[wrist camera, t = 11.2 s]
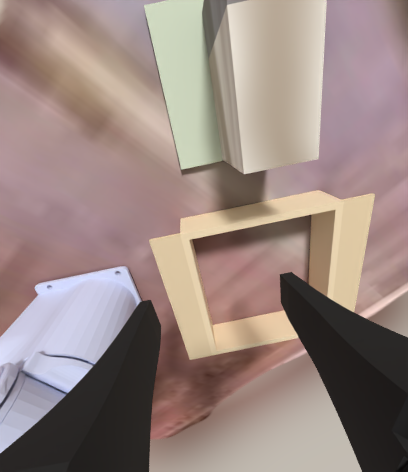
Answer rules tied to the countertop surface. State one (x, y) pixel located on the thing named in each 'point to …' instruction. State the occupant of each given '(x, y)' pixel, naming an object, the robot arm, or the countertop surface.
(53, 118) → the countertop surface
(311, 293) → the robot arm
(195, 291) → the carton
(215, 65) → the box
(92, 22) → the countertop surface
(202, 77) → the mat
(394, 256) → the countertop surface
